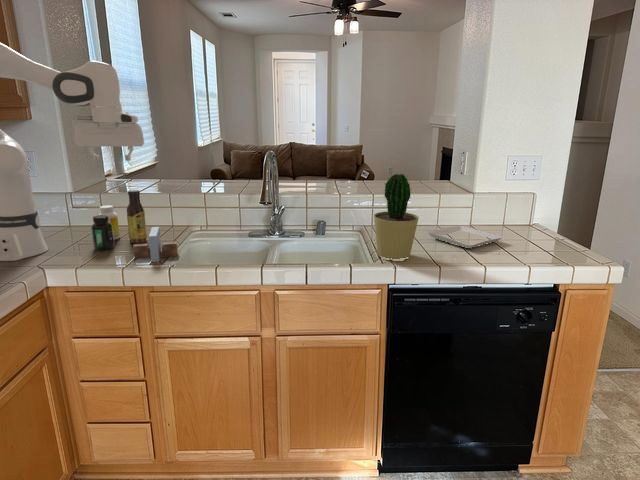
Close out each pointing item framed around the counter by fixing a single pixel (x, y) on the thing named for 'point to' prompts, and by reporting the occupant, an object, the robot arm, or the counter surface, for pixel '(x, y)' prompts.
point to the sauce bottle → (136, 218)
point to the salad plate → (444, 231)
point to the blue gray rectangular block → (154, 244)
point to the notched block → (167, 251)
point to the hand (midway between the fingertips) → (112, 160)
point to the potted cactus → (395, 221)
